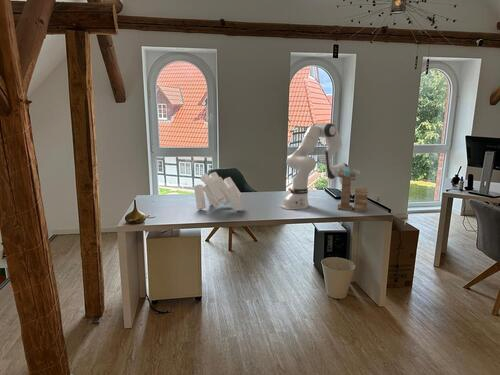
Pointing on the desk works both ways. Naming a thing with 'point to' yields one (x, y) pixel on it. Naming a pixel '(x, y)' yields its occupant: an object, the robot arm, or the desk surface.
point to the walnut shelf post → (345, 192)
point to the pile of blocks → (217, 191)
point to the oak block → (360, 199)
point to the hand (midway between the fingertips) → (346, 169)
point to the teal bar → (346, 172)
